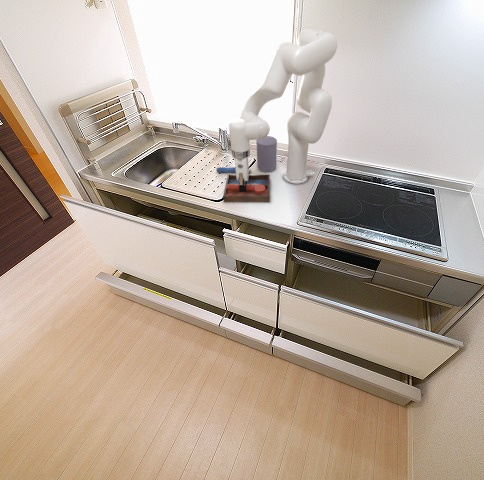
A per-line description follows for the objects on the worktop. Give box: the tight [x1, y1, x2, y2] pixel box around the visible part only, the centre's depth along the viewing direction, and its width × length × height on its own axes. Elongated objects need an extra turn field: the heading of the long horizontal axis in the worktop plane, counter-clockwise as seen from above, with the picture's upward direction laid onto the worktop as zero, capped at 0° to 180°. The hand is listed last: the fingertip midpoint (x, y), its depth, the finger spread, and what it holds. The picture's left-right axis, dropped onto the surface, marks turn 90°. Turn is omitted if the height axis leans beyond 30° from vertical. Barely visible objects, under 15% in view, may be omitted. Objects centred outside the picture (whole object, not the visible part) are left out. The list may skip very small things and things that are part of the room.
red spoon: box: [227, 184, 265, 194], centre depth 119 cm, size 18×6×3 cm, turn 91°
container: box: [255, 135, 278, 173], centre depth 136 cm, size 10×10×15 cm
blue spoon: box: [216, 166, 251, 175], centre depth 136 cm, size 18×6×3 cm, turn 90°
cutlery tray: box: [222, 173, 271, 203], centre depth 125 cm, size 21×18×3 cm
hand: (243, 189), depth 120 cm, fingers closed on red spoon, 2 cm apart
